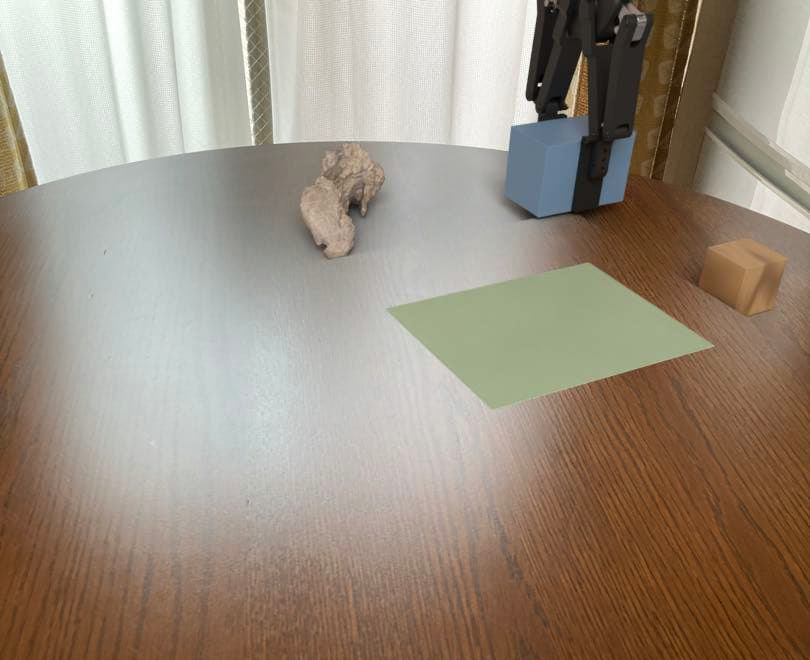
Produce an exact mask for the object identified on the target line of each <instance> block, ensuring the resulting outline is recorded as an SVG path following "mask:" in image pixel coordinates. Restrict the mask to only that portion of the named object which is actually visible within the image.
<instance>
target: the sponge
mask: <svg viewBox="0 0 810 660" xmlns="http://www.w3.org/2000/svg"><path fill="white" fill-rule="evenodd" d="M603 123H604V122H603ZM603 123H602V124H601V126H603ZM636 134H637V132H636V131H635V130H633V133H632V135H631V137H629V138H623V139H617V140H615V141H614V142H613V145H612V150H611V155H610V160H609V165H608V166H609V167H608V172H607V174H606V176H605V177H604V178H603V184H602V189H601V195H600V201H599V206H605V205H611V204H614V203H620V202H623V201H624V197H625V192H626V186H627V181H628V177H629V170H630V166H631V160H632V155H633V149H634V145H635V141H636V140H635V139H636ZM587 135H589V130H588V114H582V115H581V114H580V115H576V116H567V118H561V119H554V120H548V121H541V122H537V121H535V122H528V123H521V124H516V125H515V124H514V125H511V126H510V132H509V142H508V152H507V161H506V171H505V172H506V173H505V182H504V192H503V195H504V196H505V197H506V198H508V199H509V200H511V201H513V202H514V203H515V204H517V205H518V206H519V207H521V208H523V209H524V210H526V211H527V212H529V213H530V214H532V215H533V216H535V217H536V218H539V219H540V218H543V217H548V216H549V217H550V216H554V215H558V214H559V215H560V214H564V213H568V212H573V211H572V210H571V206H572V199H573V193H574V186H575V180H576V173H577V167H578V160H579V154H580V147H581V139H582V136H587Z"/></svg>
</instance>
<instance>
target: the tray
mask: <svg viewBox="0 0 810 660" xmlns="http://www.w3.org/2000/svg"><path fill="white" fill-rule="evenodd" d="M384 310H385V311H386V312H387V313H388V314H389V315H390V316H391V317H392V318H394V319H395V320H396V321H397V322H398V323H399V324H400V325H401V326H402V327H403V328H404V329H405V330H406V331H407V332H408V333H409V334H411V336H412V337H414V338H415V340H417V341H418V342H419V343H420V344H421V345H422V346H423V347H424V348H425V349H426V350H427V351H428V352H429V353H431V354H432V356H434V357H435V359H437V360H438V361H439V362H440V363H441V364H442V365H443V366H444V367H445V368H447V369H448V370H449V371H450V372H451V373H452V374H453V375H454V376H455V378H457V379H458V380H459V381H460V382H461V383H462V384H463V385H464V386H465V387H467V388H468V389H469V390H470V391H471V392H472V393H473V394H474V395H475V396H476V397H477V398H478V399H479V400H481V402H482V403H484V404H485V405H486V406H487V408H489V409H490V410H491V411H495V410H498V409H502V408H506V407H508V406H512V405H516V404H519V403H523V402H527V401H529V400H533V399H536V398H540V397H543V396H548V395H551V394H554V393H557V392H561V391H564V390H568V389H571V388H575V387H579V386H582V385H584V384H590V383H592V382H595V381H596V382H597V381H599V380H603V379H607V378H609V377H614V376H616V375H617V376H618V375H620V374H624V373H627V372H631V371H634V370H637V369H638V370H639V369H641V368H645V367H649V366H651V365H656V364H659V363H661V362H665V361H668V360H673V359H675V358H679V357H682V356H686V355H689V354H693V353H696V352H700V351H704V350H706V349H710V348H714V347H716V345H715V344H713V343H712V342H710V341H709V340H707V339H705V338H704V337H703V336H701V335H699V334H698V333H697V332H695V331H694V330H692V329H690V328H689V327H688V326H686V325H684V324H683V323H681V322H680V321H678V320H677V319H675V318H674V317H673V316H672V315H669V314H668V313H667V312H665V311H663V310H662V309H660V308H659V307H658V306H656V305H654V304H653V303H651V302H650V301H648V300H647V299H645V298H644V297H642V296H641V295H639V294H638V293H636V292H635V291H633V290H631V289H630V288H629V287H628V286H625V285H624V284H623V283H621V282H619V280H616V279H615V278H613V277H612V276H610V275H609V274H607V273H606V272H605V271H603V270H602V269H600V268H598V267H597V266H596V265H594V264H592V263H591V262H589V261H588V262H583V263H579V264H575V265H570V266H567V267H562V268H558V269H553V270H549V271H545V272H539V273H536V274H535V273H534V274H531V275H526V276H523V277H517V278H513V279H508V280H505V281H500V282H496V283H492V284H487V285H483V286H478V287H474V288H470V289H469V288H468V289H466V290H460V291H457V292H452V293H448V294H444V295H439V296H433V297H430V298H426V299H423V300H416V301H412V302H409V303H404V304H400V305H396V306H390V307H387V308H384Z"/></svg>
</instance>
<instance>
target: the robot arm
mask: <svg viewBox="0 0 810 660" xmlns="http://www.w3.org/2000/svg"><path fill="white" fill-rule="evenodd" d="M633 3H634V1H633V0H536V18H535V19H536V20H535V25H534V32H533V36H532V37H533V39H532V45H531V52H530V59H529V65H528V73H527V79H526V87H525V95H524V96H525V99H526V101H527V102H533V104H534V109H535V112H536V114H537V121H536V122H541V121H548V120H554V119H561V118H568V117H569V115H568V114H565V113H564V112H562V111H568V110H569V108H570V106H569V105H568V104H567V102H566V99H567V96H568V93H569V90H570V88H571V85H572V81H573V78H574V76H575V73H576V70H577V67H578V63H579V61H580V58H581V55H583V57H585V59H586V69H587V70H586V74H587V75H586V76H587V115H588V130H589V135H587V136H582V139H581V147H580V154H579V160H578V167H577V173H576V180H575V186H574V193H573V199H572V206H571V210H572V211H571V212H574V213H579V212H584V211H590V210H595V209H598V208H599V201H600V195H601V189H602V184H603V178H604V177H605V176H606V174H607V172H608V167H609V166H608V165H609V160H610V155H611V150H612V145H613V142H614V141H615V140H617V139H623V138H629V137H631V135H632V133H633V131H634V126H635V118H636V114H637V107H638V106H637V104H638V99H639V92H640V85H641V78H642V72H643V65H644V57H645V51H646V44H647V42H648V39H649V37H650V34H651V31H652V28H653V26H654V23H655V15H654V14H653V12H651V11H647V12H642V11H640V10H639V9H638V8H637V7H636V6H634V4H633ZM603 43H604V44H603ZM605 43H607V44H605ZM599 44H600V45H599ZM539 84H540V85H539ZM559 112H562V113H559ZM603 122H604V123H603ZM602 123H603V126H601V124H602Z"/></svg>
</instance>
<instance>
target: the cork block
mask: <svg viewBox="0 0 810 660" xmlns="http://www.w3.org/2000/svg"><path fill="white" fill-rule="evenodd" d="M788 260H789V258H788V257H786V256H784V255H782V254H780V253H779V252H777V251H775V250H773V249H771V248H769V247H767V246H765V245H764V244H762V243H760V242H758V241H756V240H754V239H752V238H750V237H745V238H741V239H736V240H732V241H728V242H724V243H719V244H715V245H710V246H708V247H707V249H706V253H705V257H704V262H703V265H702V268H701V272H700V276H699V279H698V280H699V281H698V284H697V288H698V289H700V290H702V291H703V292H705V293H706V294H708V295H709V296H711V297H713V298H714V299H716V300H718V301H719V302H720V303H722V304H724V305H726V306H728V307H729V308H731V309H732V310H734V311H736V312H738V313H739V314H741V315H742V316H744V317H749V316H752V315H757V314H760V313H764V312H767V311H771V310H773V308H774V305H775V300H776V298H777V294H778V292H779V290H780V289H779V288H780V285H781V282H782V279H783V275H784V272H785V270H786V266H787V263H788Z"/></svg>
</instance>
